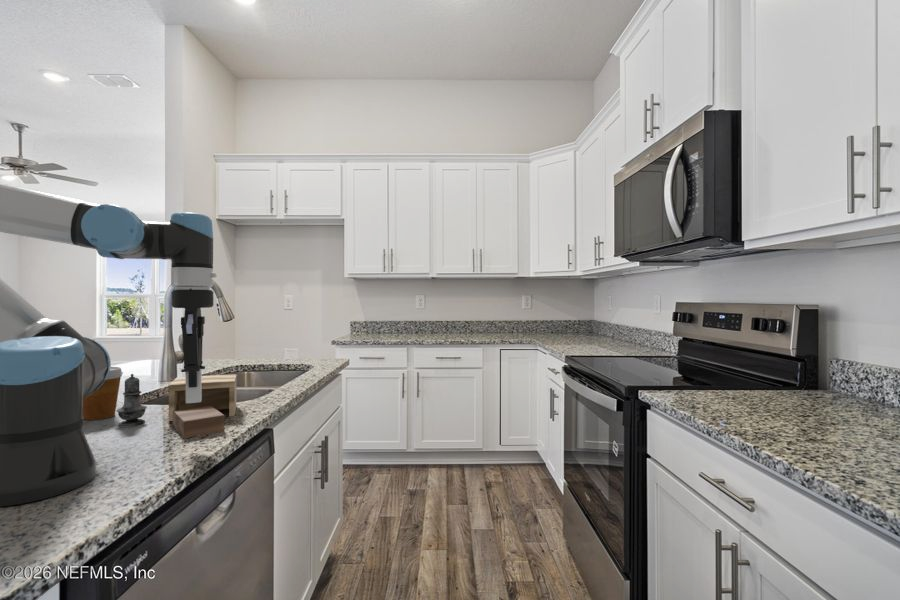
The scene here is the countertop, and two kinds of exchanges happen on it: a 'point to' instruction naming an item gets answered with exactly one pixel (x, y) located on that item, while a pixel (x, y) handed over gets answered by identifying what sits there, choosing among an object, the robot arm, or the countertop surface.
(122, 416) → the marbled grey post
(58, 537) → the countertop surface
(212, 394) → the oak bridge
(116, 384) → the disposable coffee cup
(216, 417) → the dark brown block
